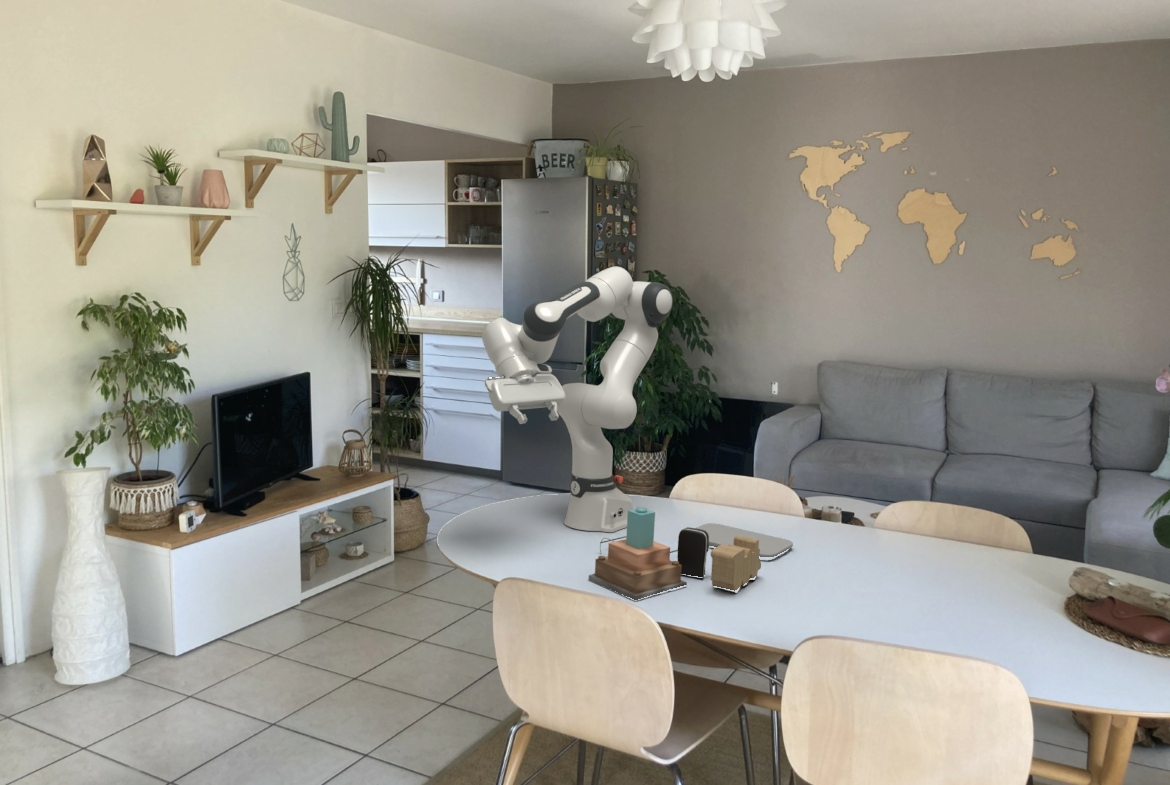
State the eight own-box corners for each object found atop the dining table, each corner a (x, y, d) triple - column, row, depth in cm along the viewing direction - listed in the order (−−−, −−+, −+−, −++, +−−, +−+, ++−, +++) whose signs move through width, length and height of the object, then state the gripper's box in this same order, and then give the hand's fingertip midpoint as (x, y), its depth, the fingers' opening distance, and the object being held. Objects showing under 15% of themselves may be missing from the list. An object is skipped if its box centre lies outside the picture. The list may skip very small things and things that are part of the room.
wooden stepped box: (638, 567, 228) (640, 530, 227) (686, 587, 216) (688, 548, 214) (588, 580, 218) (590, 541, 216) (635, 601, 206) (637, 561, 204)
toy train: (760, 577, 225) (763, 537, 223) (730, 597, 211) (733, 555, 209) (738, 572, 228) (741, 532, 226) (708, 592, 214) (710, 549, 212)
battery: (708, 575, 224) (711, 529, 223) (703, 580, 221) (706, 533, 219) (680, 570, 227) (683, 524, 226) (675, 574, 224) (678, 528, 222)
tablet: (709, 529, 263) (709, 521, 263) (796, 550, 248) (796, 541, 248) (679, 542, 250) (680, 534, 250) (769, 565, 235) (770, 556, 235)
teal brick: (640, 541, 219) (642, 505, 217) (653, 546, 215) (655, 509, 214) (626, 544, 216) (627, 507, 214) (639, 549, 212) (641, 512, 211)
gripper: (487, 369, 224) (510, 416, 218) (555, 365, 237) (578, 409, 231) (476, 385, 228) (498, 432, 222) (544, 380, 241) (566, 424, 235)
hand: (539, 420), depth 226 cm, fingers open, 8 cm apart
